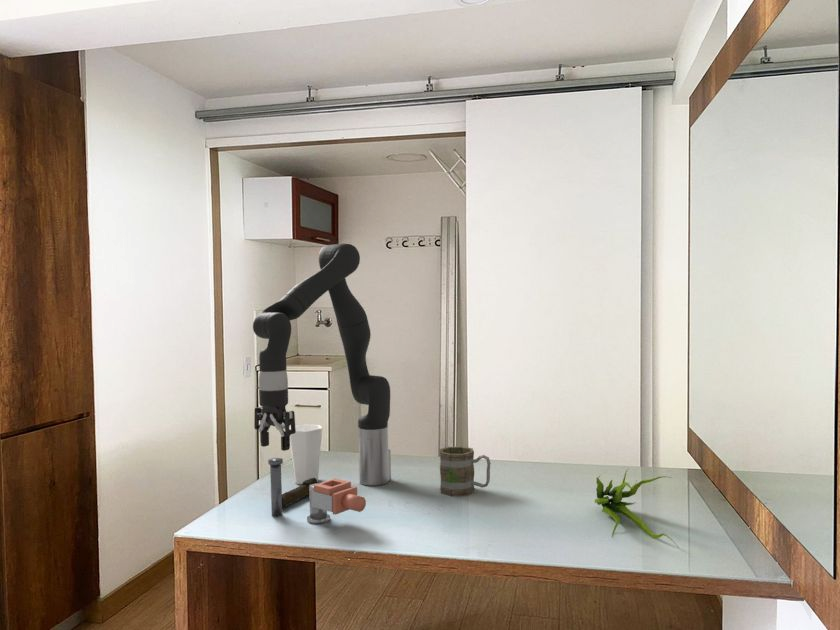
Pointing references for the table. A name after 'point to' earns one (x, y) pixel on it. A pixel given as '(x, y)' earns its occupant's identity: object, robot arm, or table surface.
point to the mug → (459, 471)
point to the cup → (306, 451)
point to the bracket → (341, 495)
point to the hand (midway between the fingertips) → (275, 448)
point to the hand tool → (297, 492)
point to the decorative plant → (622, 503)
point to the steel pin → (276, 486)
